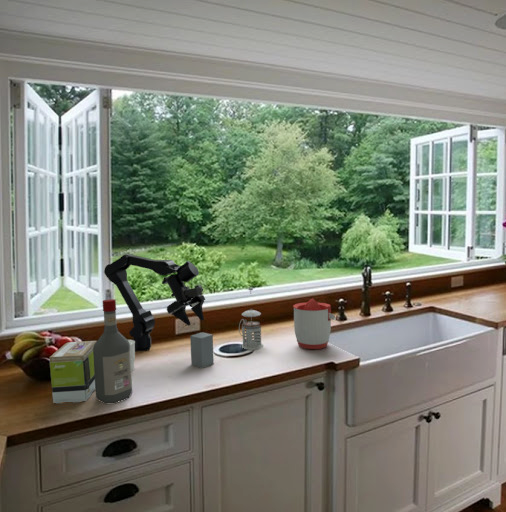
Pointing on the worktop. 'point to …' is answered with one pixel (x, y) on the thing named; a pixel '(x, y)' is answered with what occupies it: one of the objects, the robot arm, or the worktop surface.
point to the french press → (251, 330)
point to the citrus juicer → (312, 324)
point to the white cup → (132, 353)
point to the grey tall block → (201, 349)
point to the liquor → (112, 360)
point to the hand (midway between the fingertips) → (196, 322)
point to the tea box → (73, 372)
